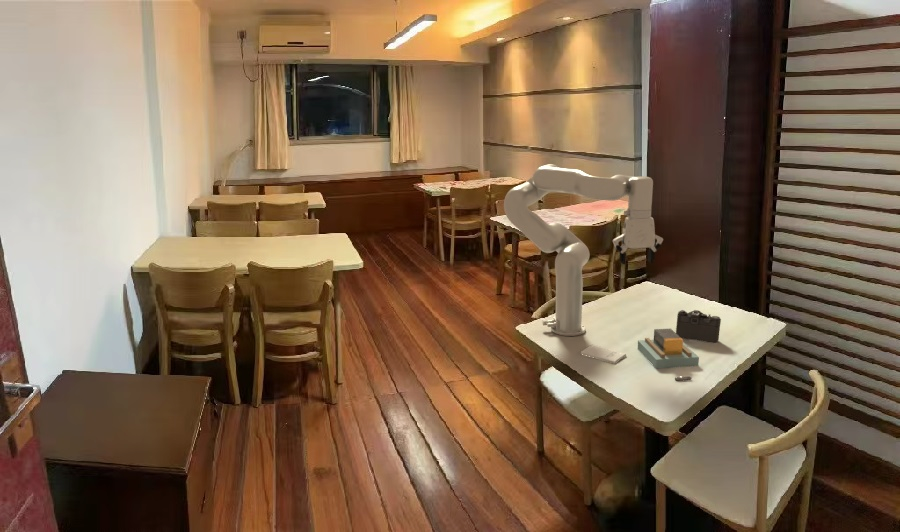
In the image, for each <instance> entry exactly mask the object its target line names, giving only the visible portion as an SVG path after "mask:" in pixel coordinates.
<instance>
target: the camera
mask: <svg viewBox="0 0 900 532" xmlns="http://www.w3.org/2000/svg"><path fill="white" fill-rule="evenodd" d="M721 321H722V319H721V317H720V316H717V315H711V314H710V313H708V314H706V313H703V312H701V310H696V309H694V310H692V311H690V312H687V311H686V310H683V309H681V310H678V312H677V317H676V328H675V333H676V334H677V335H678V336H679V337H681V338H682V339H683V340H684V339H685V340H691V341H697V342H704V343H711V344H717V343H719V339H720V329H721V324H722V323H721Z"/></svg>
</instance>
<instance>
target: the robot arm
mask: <svg viewBox="0 0 900 532" xmlns="http://www.w3.org/2000/svg"><path fill="white" fill-rule="evenodd" d="M653 186H654V180H653V179H652V177H649V176H643V175H642V176H631V175H626V174H615V175H614V176H613V175H612V176H611V177H602V176H594V175H589V174H587V173H585V172H584V171H582V170H580V169H575V168H563V167H559V166H558V165H556V164H554V163H553V164H552V163H549V164H545V165H542V166H539V167H538V168H536V170H534V172H533V174H532V177H530V178H529V179H527V180H526V181H525V182H524V183H521V184H519V185H517V186H514V187H512V188H510V189H509V190H508V191H507V193H506V195H505V197H504V201H503V210H504V214H505V216H506V218H507V219H508V221H509V222H510V223H511V224H512V225H513V226H514V227H516V228H517V229H518V230H519V231H520V232H521V233H522V234H523V235H524V236H525V237H526V238H527V239H528V240H529V241H531V242H532V243H533V244H534V245H535V246H536V247H537V248H538V249H539V250H540V251H541V252H543V253H545V254H550V253H553V252H557V255H556V256H555V259H554V271H555V316H553V318H552V319H549V320H548V319H543V320H542V321H541V323H542V326H547V327H548V328H550V330H551V332H553V333H554V334H557V335H559V336H565V337H574V336H575V337H576V336H581V335H583V334H585V333H586V329H587V328H586V326H585V325H584V324H582V322H583V321H582V318H583V317H582V316H583V315H582V314H583V312H582V311H583V290H584V289H583V288H584V285H583V282H584V281H583V271H582V270H583V267H584V266H585V265H586V264H587V263H588V262H589V259H590V255H591V254H590V250H589V248H588V246H587V245H586V244H585V243H584V242H583V241H582V240H581V239H580V238H578V237H577V236H576V235H575V234H574V233H573V232H572V231H571V230H570V229H568V228H567V227H566V226H565V225H563V224H561V223H558V222H550V223H547V222H546V221H545V220H544V219H542V218H541V217H540V216H539V215H538V214H537V213H536V212H533V211H532V210H531V209H529V207H530V206H532V205H534V204H535V203H537V202H538V201H540V200H541V199H542V198H543V197H545V196H546V195H547V194H548V193H550V192H553V193H562V194H570V195H571V194H572V195H575V196H579V197H584V198H587V199H593V200H601V201H610V202H612V201H615V202H616V201H618V200H620V199H622V198H624V197H628V205H627V210H624V211H623V214H624V216H626V217H625V219H624V223H623V227H622V228H623V229H622V234H621V235H618V236H617V237H615V238H613V239H612V243H613V245H614V248H616V250H617V251H618V252H619V256H618V257H619V263H621V264H622V265H626V262H627V261H626V259H627V253H626V252H627V250H628V249H643V248H644V249H647V248H649V249H648V251H647V262H648V263H650V264H653V263H654V261H655V258H656V257H655V255H656V254H655V253H656V252H657V250H659V248H660V247H661V245H662V243H663V241H664V238H663V237H661V236H659V235H657V234H656V232H655V231H656V230H655V229H656V227H655V220H654V218H653V217H652V205H653V204H652V203H653V192H654V191H653V190H654V187H653ZM619 242H621V246H620V244H619Z"/></svg>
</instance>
